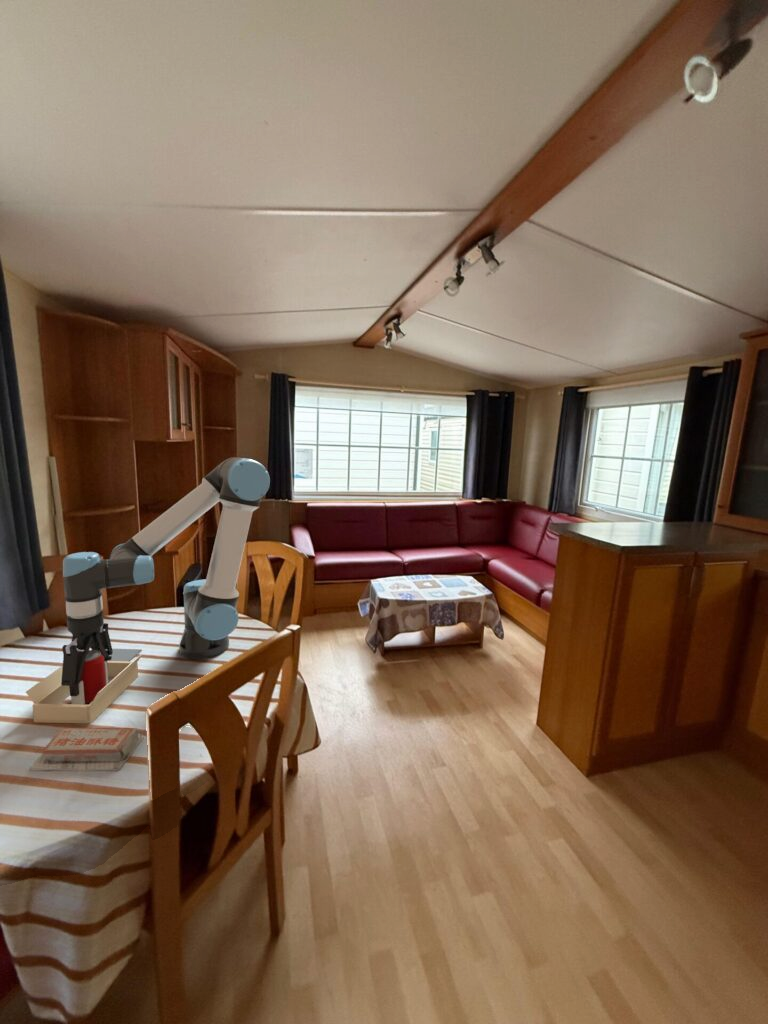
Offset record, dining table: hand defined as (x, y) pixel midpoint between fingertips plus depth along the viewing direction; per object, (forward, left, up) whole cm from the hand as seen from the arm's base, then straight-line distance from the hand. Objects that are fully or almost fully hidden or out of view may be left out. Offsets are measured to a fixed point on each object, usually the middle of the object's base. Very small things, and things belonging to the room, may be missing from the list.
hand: (90, 694), depth 107 cm
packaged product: (-13, +20, -2) cm, 23 cm away
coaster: (+6, -19, -1) cm, 20 cm away
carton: (0, 0, -1) cm, 1 cm away
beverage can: (0, 0, -1) cm, 1 cm away
